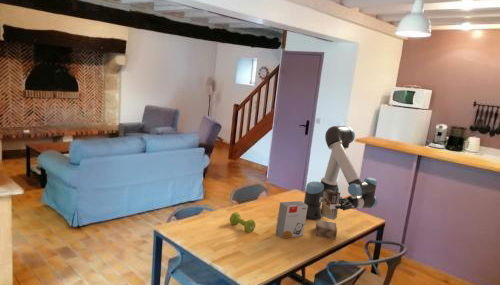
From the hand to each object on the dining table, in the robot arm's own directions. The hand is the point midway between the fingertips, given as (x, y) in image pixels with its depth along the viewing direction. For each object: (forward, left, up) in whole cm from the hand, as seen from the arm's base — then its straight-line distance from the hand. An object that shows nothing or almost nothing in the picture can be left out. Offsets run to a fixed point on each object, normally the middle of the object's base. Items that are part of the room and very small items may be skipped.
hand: (324, 203), depth 215 cm
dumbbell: (-43, -22, -21) cm, 53 cm away
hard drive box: (-16, -13, -20) cm, 29 cm away
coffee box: (+3, +3, -9) cm, 10 cm away
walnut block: (+3, +3, -20) cm, 21 cm away
